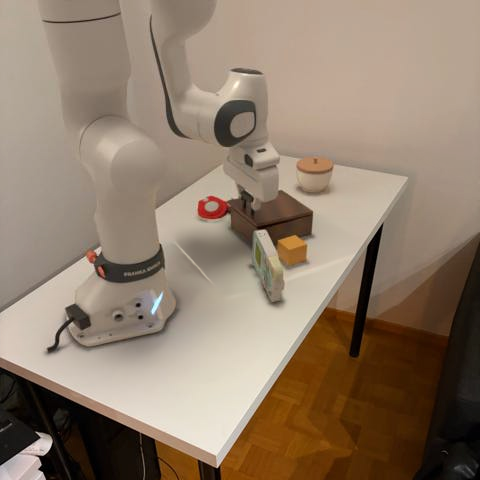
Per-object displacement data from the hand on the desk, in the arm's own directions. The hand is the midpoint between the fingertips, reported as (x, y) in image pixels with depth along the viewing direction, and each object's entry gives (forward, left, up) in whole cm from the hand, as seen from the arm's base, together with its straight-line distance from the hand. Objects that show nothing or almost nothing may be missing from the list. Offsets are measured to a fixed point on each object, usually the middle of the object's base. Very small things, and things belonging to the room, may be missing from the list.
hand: (249, 204), depth 117 cm
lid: (+6, 0, -3) cm, 7 cm away
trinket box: (+31, +16, -10) cm, 37 cm away
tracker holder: (-1, +16, -10) cm, 19 cm away
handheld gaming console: (-7, -19, -10) cm, 23 cm away
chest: (+6, 0, -10) cm, 12 cm away
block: (+3, -14, -10) cm, 17 cm away
